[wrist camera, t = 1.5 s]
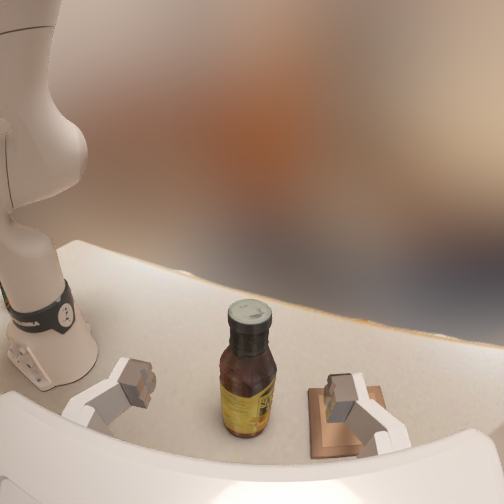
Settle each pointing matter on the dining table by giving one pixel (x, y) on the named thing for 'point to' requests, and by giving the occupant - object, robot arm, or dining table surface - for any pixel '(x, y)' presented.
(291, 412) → the dining table surface
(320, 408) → the trivet
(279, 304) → the dining table surface
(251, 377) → the sauce bottle
